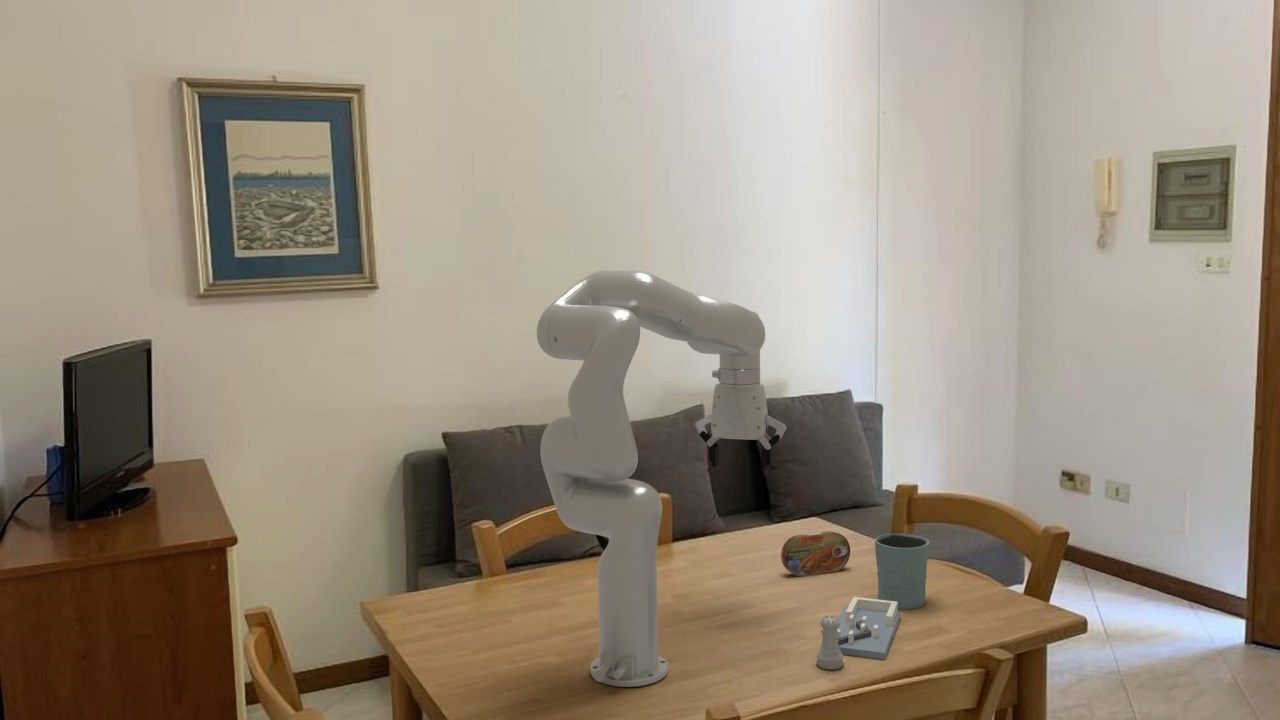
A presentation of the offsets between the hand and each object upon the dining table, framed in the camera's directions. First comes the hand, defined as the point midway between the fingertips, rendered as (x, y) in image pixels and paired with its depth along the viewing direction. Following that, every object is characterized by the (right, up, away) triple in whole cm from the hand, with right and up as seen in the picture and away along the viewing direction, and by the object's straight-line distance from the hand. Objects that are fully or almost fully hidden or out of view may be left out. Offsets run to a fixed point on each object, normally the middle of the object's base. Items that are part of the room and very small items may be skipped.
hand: (740, 467), depth 193 cm
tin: (+18, -24, +21) cm, 37 cm away
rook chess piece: (+12, -30, -26) cm, 41 cm away
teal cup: (+31, -26, +3) cm, 41 cm away
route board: (+20, -28, -13) cm, 37 cm away
